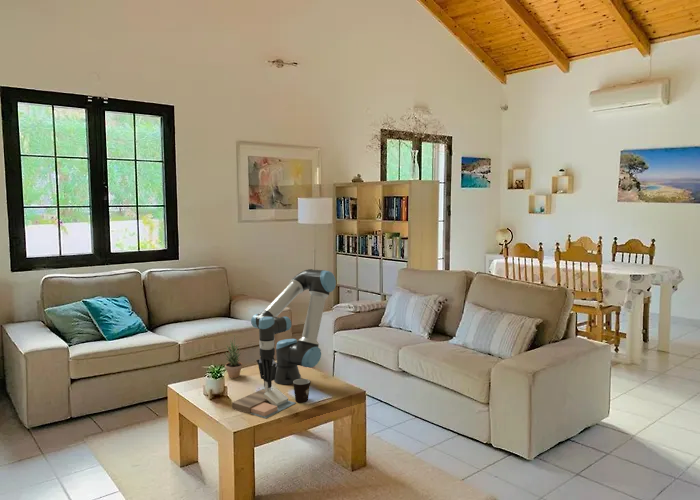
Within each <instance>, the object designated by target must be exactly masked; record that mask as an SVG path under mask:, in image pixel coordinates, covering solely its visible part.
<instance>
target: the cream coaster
mask: <svg viewBox="0 0 700 500" xmlns="http://www.w3.org/2000/svg"><path fill="white" fill-rule="evenodd" d="M263 397H264V398H265V399H266V400H268V401H269V402H270V403H271V404H272V405H275V406H279V405H281V404H283V403H285V402H288V401H289V399H290V398H289V397H288V396H287V395H285V394H284V393H283V392H282V391H281V390H279V389H278V388H273V389H271V391H269V392H266V393H264V396H263Z"/></svg>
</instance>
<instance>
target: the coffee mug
mask: <svg viewBox="0 0 700 500" xmlns="http://www.w3.org/2000/svg"><path fill="white" fill-rule="evenodd" d="M310 386H311V380H310V379H308V378H301V379H297V380H294V381H293V392H294V393H293V394H294V398H295V399H294V400H295V403H296V404H297V403H298V404H305V403H307V402H308V401H309V396H310V395H309V394H310Z"/></svg>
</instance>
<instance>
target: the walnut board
mask: <svg viewBox="0 0 700 500" xmlns="http://www.w3.org/2000/svg"><path fill="white" fill-rule="evenodd" d="M264 393H265V388H262V389H259V390H258V391H255V392H253V393H251V394H248V395H245V396H243V397H241V398H238V399H236V400H234V401H232V402H231V409H234V410H237V411H240V412H243V413H247V414H250V413H252V412H251V408H252V407H255V406H257V405H259V404H261V403H263V402H265V403H268V404H271V403H270V402H269V401H268V400H266V399H265V398H264V397H263V396H264Z"/></svg>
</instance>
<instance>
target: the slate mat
mask: <svg viewBox="0 0 700 500" xmlns="http://www.w3.org/2000/svg"><path fill="white" fill-rule="evenodd" d="M296 404H297V402H296V401H292V400H288V402H285V403H283V404H281V405H279V406H277V409H278V410H277V411H275V412H273V413H271V414H269V415H267V416H261V415H258V414H255V413H250V414H251V415H253V416H257V417H259V418H263V419H268V418H269V417H272V416H274V415H277V414H278V413H280V412H282V411H284V410H286V409H288V408H289V407H292V406H294V405H296Z"/></svg>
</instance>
